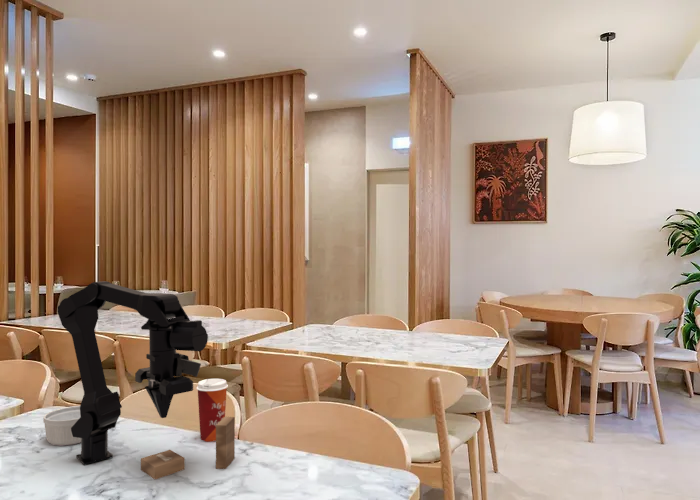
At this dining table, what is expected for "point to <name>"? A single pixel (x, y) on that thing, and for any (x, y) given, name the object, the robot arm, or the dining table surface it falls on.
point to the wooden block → (225, 442)
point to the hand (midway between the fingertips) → (163, 417)
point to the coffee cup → (211, 406)
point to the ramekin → (62, 425)
